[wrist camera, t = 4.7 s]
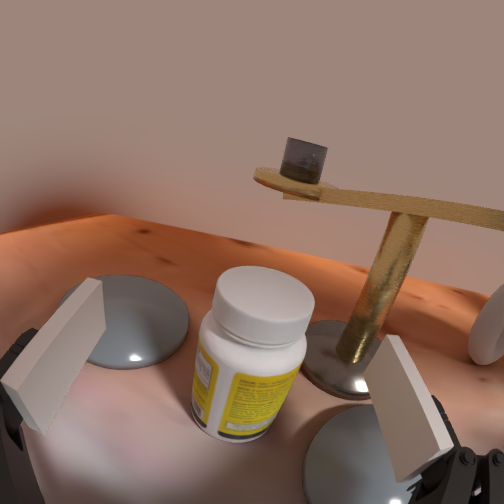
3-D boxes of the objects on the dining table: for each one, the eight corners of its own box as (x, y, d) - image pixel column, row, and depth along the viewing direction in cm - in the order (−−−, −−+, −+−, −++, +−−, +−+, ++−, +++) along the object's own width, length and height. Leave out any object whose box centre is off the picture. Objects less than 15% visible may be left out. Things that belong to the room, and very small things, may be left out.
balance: (272, 273, 31) (312, 121, 25) (477, 421, 14) (587, 235, 8) (209, 286, 26) (246, 100, 20) (449, 490, 9) (627, 246, 3)
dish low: (157, 275, 26) (157, 268, 25) (213, 347, 19) (215, 339, 19) (52, 291, 19) (51, 282, 19) (72, 384, 13) (69, 375, 12)
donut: (489, 348, 24) (528, 277, 20) (504, 365, 21) (547, 292, 17) (446, 355, 23) (494, 267, 19) (463, 377, 19) (519, 286, 15)
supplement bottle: (285, 404, 16) (337, 290, 12) (248, 459, 12) (303, 348, 8) (219, 368, 17) (245, 251, 14) (172, 413, 13) (181, 285, 10)
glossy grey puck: (367, 389, 18) (372, 382, 17) (463, 461, 11) (470, 455, 11) (262, 469, 11) (266, 463, 11) (393, 574, 5) (403, 572, 4)
